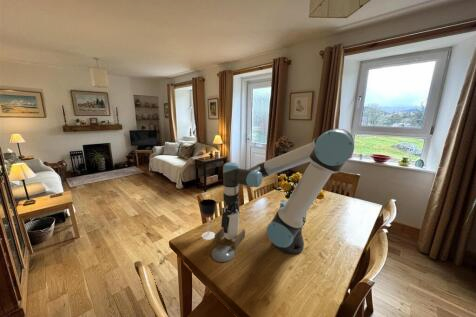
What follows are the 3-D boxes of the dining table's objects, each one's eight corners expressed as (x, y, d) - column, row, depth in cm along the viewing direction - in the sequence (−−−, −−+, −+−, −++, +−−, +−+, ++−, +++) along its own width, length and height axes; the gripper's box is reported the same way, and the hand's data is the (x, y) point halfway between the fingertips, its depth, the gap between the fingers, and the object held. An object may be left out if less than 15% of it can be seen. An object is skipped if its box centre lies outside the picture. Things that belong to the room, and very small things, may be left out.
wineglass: (213, 241, 101) (213, 206, 97) (198, 238, 103) (197, 204, 99) (218, 232, 109) (218, 200, 105) (203, 230, 111) (203, 198, 106)
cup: (239, 239, 100) (240, 213, 97) (226, 242, 97) (226, 215, 94) (234, 231, 107) (234, 207, 103) (222, 234, 104) (222, 209, 101)
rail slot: (244, 236, 105) (245, 229, 104) (235, 250, 95) (235, 242, 94) (225, 230, 110) (226, 224, 109) (214, 242, 100) (214, 235, 99)
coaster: (238, 250, 95) (238, 249, 94) (227, 265, 85) (227, 264, 85) (219, 243, 99) (219, 242, 99) (207, 257, 90) (207, 256, 89)
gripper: (233, 185, 108) (233, 221, 112) (213, 199, 89) (214, 242, 93) (246, 187, 105) (245, 224, 109) (227, 202, 86) (227, 246, 90)
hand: (231, 232), depth 101 cm, fingers closed on cup, 9 cm apart
